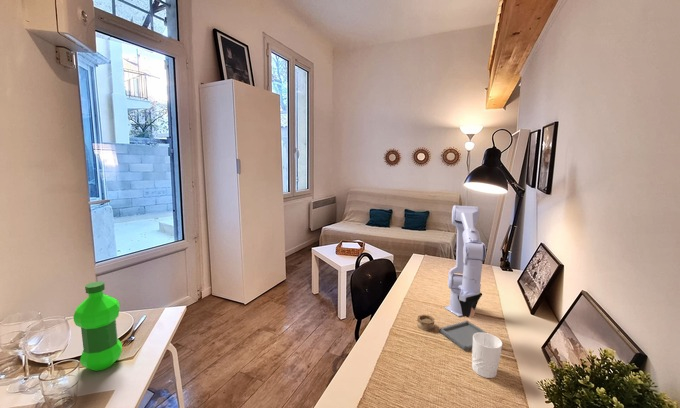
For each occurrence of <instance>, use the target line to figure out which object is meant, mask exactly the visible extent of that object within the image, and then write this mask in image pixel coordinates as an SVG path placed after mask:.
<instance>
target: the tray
mask: <svg viewBox="0 0 680 408" xmlns="http://www.w3.org/2000/svg"><path fill="white" fill-rule="evenodd" d="M478 332H484V333H488V332H487V331H485V330H483V329H482V328H481V327H478V326H476V325H475V324H474V323H472V322H470V321H469V320H465V321H461V322H457V323H455V324H450V325H447V326H444V327H439V329H438V333H440V334H441V335H443V336H444V337H445V338H447V339H448V340H449V341H451V342H452V343H453V344H455V345H456V346H457V347H459V348H460V349H462V350H463V351H465V352H467V351H470V350H472V344H473V335H474V334H475V333H478Z"/></svg>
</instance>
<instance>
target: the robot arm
mask: <svg viewBox="0 0 680 408" xmlns="http://www.w3.org/2000/svg"><path fill="white" fill-rule="evenodd" d="M479 219H480V208H479V206H477V205H476V206H474V205H473V206H471V205H470V206H469V205H457V204H454V205H453V206H452V210H451V225H452V226H453V227H455V228H456V229H455V230H456V250H455V251H456V253H455V256H456V257H455V259H456V260H455V266H454V267H452V268H450V269H449V271H448V275H447V287H448V289H449V290H450V294H449V296H450V297H449V305H446V306H444V308H445V310H447V311H449V312H451V313H452V314H454V315H456V316H457V317H465V316H466V317H465V318H468V317H469V316H470V313H471V309H472V308H473V309H474V311H475V312H476V308H477V305H478V303H479V301H480V299H481V297H482V296H483V293H482V292H481V288H482V287H481V286H482V284H481V280H482V272H483V271H482V270H483V269H482V268H483V262H484V261H485V260H486V256H487V252H486V251H487V249H486V245H485V243H484V242H483V241H482V239H481V235H480V232H479V230H478V229H476V225H477V223H478V220H479Z"/></svg>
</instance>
